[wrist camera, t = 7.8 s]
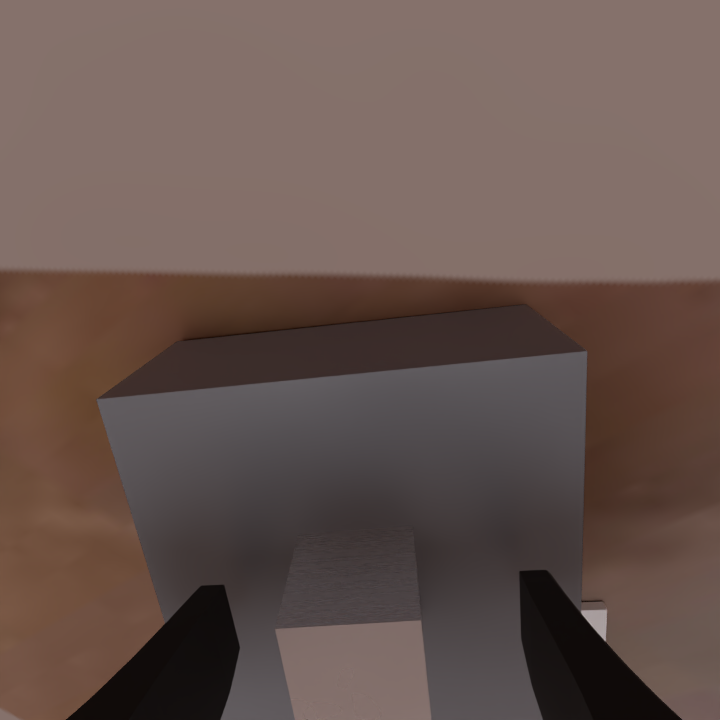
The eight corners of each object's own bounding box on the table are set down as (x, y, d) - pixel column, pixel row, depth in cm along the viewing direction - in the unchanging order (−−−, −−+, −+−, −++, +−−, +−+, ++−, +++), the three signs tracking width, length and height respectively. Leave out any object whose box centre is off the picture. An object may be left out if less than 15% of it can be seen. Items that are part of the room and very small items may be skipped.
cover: (526, 304, 16) (656, 404, 8) (530, 593, 20) (625, 847, 12) (176, 341, 17) (8, 462, 9) (242, 611, 20) (160, 858, 13)
